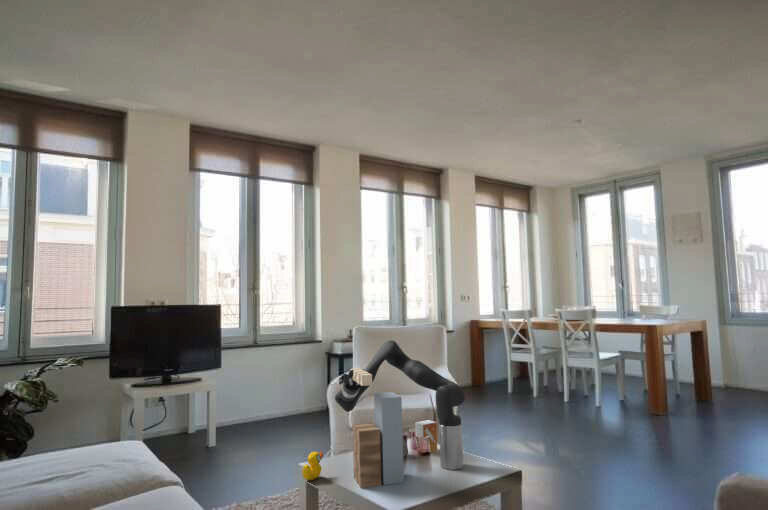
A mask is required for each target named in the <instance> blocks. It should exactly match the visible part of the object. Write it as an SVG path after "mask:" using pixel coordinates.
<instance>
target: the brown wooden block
mask: <svg viewBox="0 0 768 510" xmlns="http://www.w3.org/2000/svg"><path fill="white" fill-rule="evenodd" d="M352 444H353V445H352V448H353V449H352V452H353V479H354V478H355V479H354V480H355V482H356V481H357V482H356V484H357V485H358V484H359V485H358V487H359V488H360V489H363V488H364V487H365V488H371V487H372V486H373V487H379V486H380V485H381V486H382V482H381V455H380V429H379V428H378V427H376V426H375V423H374V422H364V423H356V424H355V423H354V424H352ZM373 487H372V488H373Z"/></svg>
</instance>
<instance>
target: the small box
mask: <svg viewBox="0 0 768 510" xmlns="http://www.w3.org/2000/svg"><path fill="white" fill-rule="evenodd" d="M437 424H438V423H437V421H433V420H430V419H427V420H421V421H416V422H415V424H414V427H415V429H414V431H415V434H417V435H419V436H422V437H423V438H424V437H426V436H429V435H430V436H429V437H430V438H429V439H430V443H429V444H430V451H431V452H430V453H435V452H438V433H437V431H438V430H437Z"/></svg>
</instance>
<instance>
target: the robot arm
mask: <svg viewBox="0 0 768 510" xmlns="http://www.w3.org/2000/svg"><path fill="white" fill-rule="evenodd" d="M385 361H386V362H387V363H388V364H389V365H391V366H393V367H394V368H396V369H398V370H399V371H401V372H402V373H404V375H405V376H406V377H408V378H409V379H410V380H412V381H413V382H414V383H415V384H416V385H418V386H420V387H422V388H426V389H429V390H432V391H435V404H436V405H435V406H436V416H437V419H438V427H439V429H438V430H439V432H438V433H439V454H440V457H439V459H440V467H441V468H442V469H444V470H450V471H451V470H462V469H463V468H464V448H463V447H464V445H463V444H464V442H463V437H462V435H463V433H462V418H461V416H460V415H458V414H454V410H453V408H455V407H459V406H461V405H462V404H464V402H465V399H466V394H465V392H464V390H463V388H462V387H461V386H460V385H458V383H455V382H453V381H451V380H449V379H448V378H445V376H442V375H441V374H440V373H438V372H437V371H435V370H434V369H432V368H431V367H430V366H428V365H426V364H425V363H423V362H422V361H420V360H417V359H412V358H410V357H409V356H408V355H407V354H406V353H405V352H404V351H403V350H402V348H401V347H400V346H399V344H398V343H397V342H396V341H395V340H392V339H391V340H390V339H389V340H387V341H386V342H384V343H383V344H382V345H381V346H380V348H379V349H378V350H377V352H376V353H375V355H374V356H373V358H371V361H370V362H369V363H368V365H367V366H366V368H361V369H362V370H364V371H366V372H368V373H370V374H372V383H373V382H374V381H375V378H376V376H377V375H378V374H377V373H378V371H379V369H380V367H381V365H383V362H385ZM352 377H353V370H351V369H350V370H349V372H348V374H347V373H344V374H342V375H341V376H340V377H339V378H338V383H339V386H340V385H342V387H341V388H342V389H340V390H338V391H337V392H336V394H335V396H334V400H335V402H336V403H337V404H338V406H340V408H342V410H344V412H347V413H349V412H351V411H353V410H354V409H355V407H356V405H357V403H358V401H359V399H360V398H361V396H362V395H363V394H364V393H365V392H366V391H367V389H368V388H370V386H371V385H368V386H362V385H360V384H359V383H357V382H356V381H354V380H352Z"/></svg>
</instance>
